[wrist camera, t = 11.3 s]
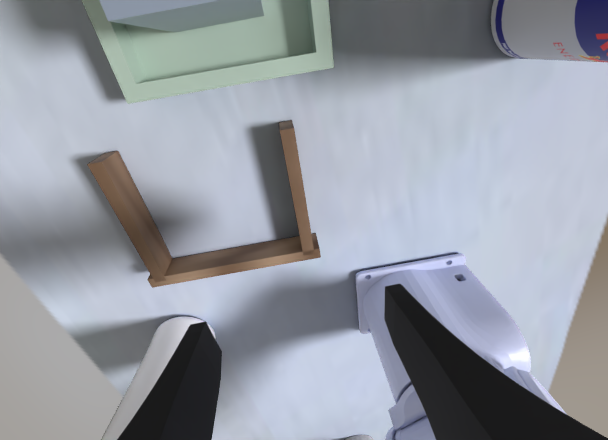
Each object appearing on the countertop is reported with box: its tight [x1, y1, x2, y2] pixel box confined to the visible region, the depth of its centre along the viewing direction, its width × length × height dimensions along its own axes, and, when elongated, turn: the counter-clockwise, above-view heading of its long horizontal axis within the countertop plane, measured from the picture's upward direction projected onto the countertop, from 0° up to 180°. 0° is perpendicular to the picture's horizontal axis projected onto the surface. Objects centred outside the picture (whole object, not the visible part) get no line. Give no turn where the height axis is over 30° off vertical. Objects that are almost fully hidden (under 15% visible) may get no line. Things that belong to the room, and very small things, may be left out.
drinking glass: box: [101, 317, 216, 440], centre depth 20 cm, size 7×7×15 cm
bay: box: [87, 120, 321, 287], centre depth 19 cm, size 12×9×2 cm
